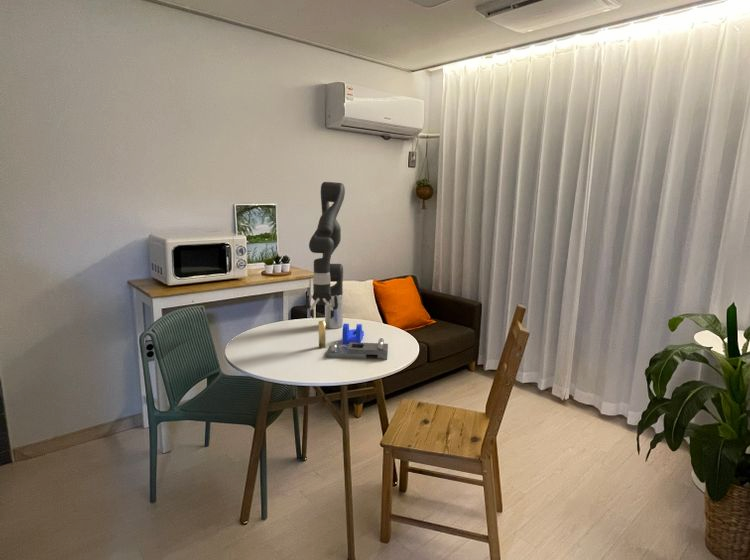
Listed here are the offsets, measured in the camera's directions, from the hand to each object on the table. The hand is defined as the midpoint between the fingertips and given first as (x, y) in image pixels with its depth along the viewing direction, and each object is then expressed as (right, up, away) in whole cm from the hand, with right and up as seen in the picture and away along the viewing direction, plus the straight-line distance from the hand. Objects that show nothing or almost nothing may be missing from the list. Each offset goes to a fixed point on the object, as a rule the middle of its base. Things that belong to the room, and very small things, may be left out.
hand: (322, 317), depth 197 cm
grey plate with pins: (+16, -15, -6) cm, 23 cm away
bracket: (+14, -12, +16) cm, 24 cm away
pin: (0, -14, +3) cm, 14 cm away
